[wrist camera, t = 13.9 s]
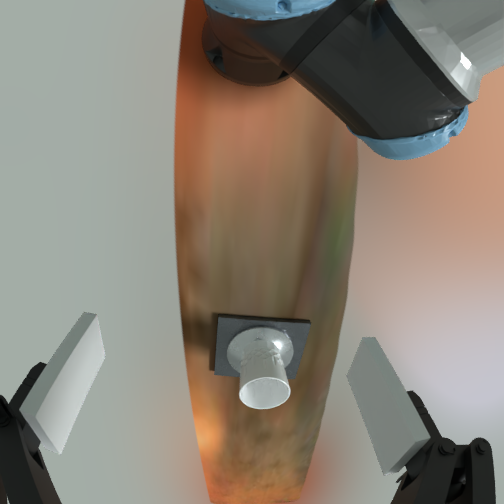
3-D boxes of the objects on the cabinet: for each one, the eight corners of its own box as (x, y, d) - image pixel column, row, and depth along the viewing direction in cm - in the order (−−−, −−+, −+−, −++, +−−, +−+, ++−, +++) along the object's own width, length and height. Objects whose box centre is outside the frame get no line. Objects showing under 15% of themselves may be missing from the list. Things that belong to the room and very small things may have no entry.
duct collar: (218, 313, 50) (218, 319, 48) (309, 320, 51) (311, 326, 49) (214, 371, 55) (214, 377, 53) (294, 375, 56) (295, 381, 54)
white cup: (231, 360, 52) (230, 401, 42) (251, 330, 49) (254, 371, 40) (269, 373, 53) (274, 413, 44) (290, 345, 51) (300, 385, 41)
